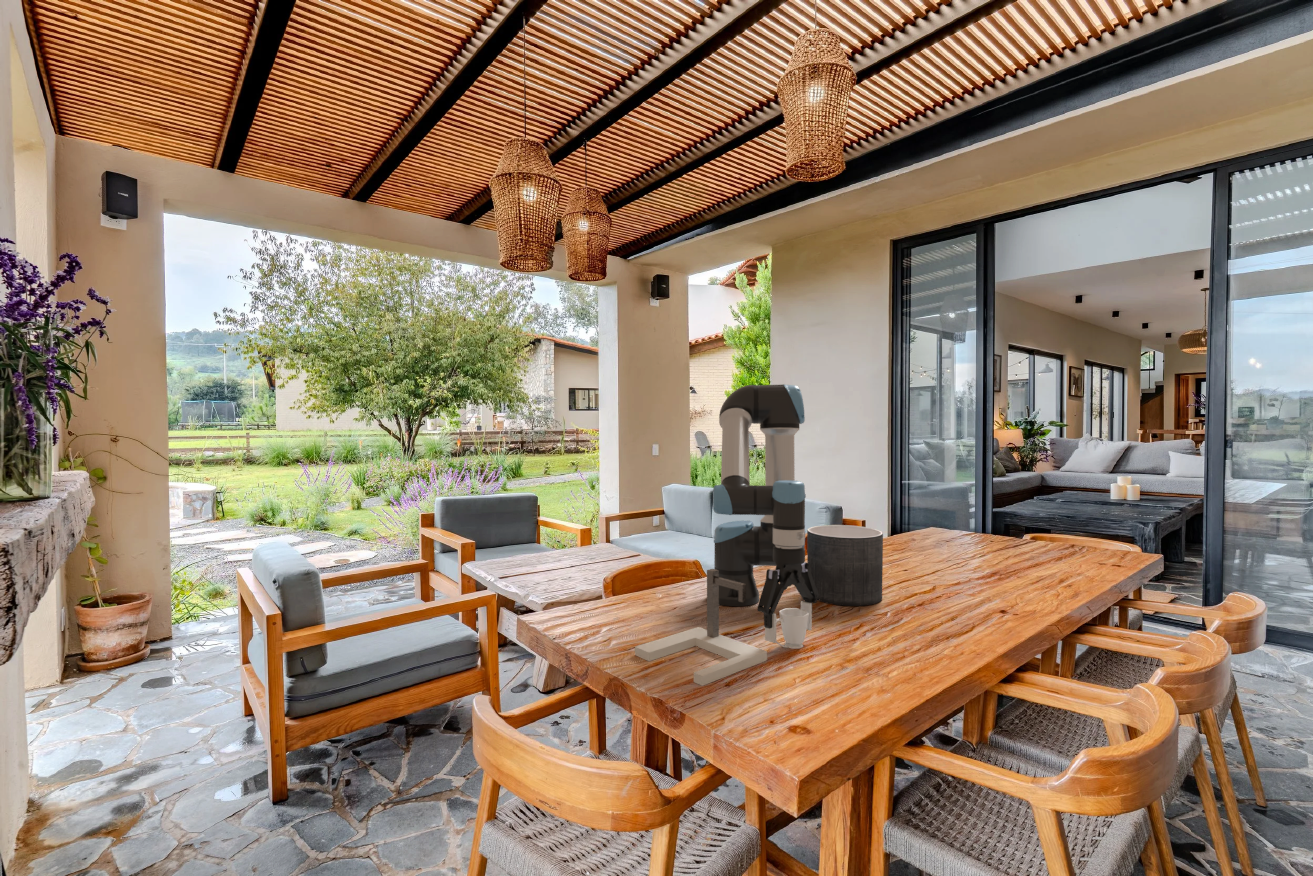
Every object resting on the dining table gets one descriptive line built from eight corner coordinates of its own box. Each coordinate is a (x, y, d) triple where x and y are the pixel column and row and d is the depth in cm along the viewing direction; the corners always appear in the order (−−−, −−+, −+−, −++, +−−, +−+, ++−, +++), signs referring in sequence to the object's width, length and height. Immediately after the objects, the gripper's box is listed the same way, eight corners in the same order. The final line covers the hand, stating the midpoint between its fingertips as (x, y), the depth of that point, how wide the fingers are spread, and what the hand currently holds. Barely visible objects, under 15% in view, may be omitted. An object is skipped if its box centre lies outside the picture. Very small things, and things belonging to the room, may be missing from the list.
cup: (815, 648, 146) (815, 614, 146) (780, 655, 142) (780, 620, 141) (796, 638, 152) (796, 606, 152) (762, 645, 148) (762, 611, 148)
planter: (881, 589, 196) (882, 526, 195) (883, 610, 175) (883, 539, 174) (810, 584, 203) (810, 523, 202) (803, 603, 182) (803, 535, 181)
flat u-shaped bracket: (635, 655, 142) (635, 646, 142) (698, 634, 155) (698, 626, 155) (702, 686, 125) (702, 676, 125) (767, 660, 139) (767, 651, 139)
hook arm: (707, 635, 149) (706, 570, 148) (712, 634, 150) (712, 568, 150) (741, 648, 140) (741, 578, 140) (747, 646, 142) (747, 577, 141)
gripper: (767, 555, 135) (767, 651, 136) (832, 541, 152) (832, 627, 152) (741, 550, 141) (741, 642, 141) (807, 537, 157) (807, 620, 157)
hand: (788, 635), depth 146 cm, fingers open, 13 cm apart
